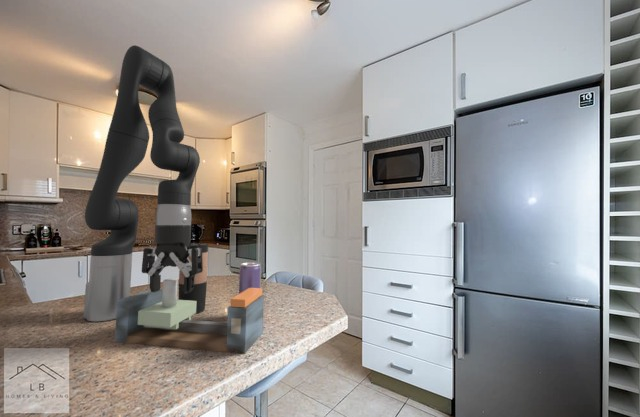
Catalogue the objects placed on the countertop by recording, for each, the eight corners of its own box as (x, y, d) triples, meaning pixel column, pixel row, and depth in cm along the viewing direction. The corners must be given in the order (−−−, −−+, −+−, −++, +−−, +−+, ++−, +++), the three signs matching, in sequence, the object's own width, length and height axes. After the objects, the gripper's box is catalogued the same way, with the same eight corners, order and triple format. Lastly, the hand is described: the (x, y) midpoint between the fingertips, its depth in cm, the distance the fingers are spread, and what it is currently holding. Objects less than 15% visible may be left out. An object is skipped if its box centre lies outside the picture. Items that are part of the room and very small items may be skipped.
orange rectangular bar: (230, 306, 53) (230, 298, 54) (249, 294, 63) (249, 287, 63) (244, 307, 53) (245, 299, 53) (261, 294, 62) (262, 288, 63)
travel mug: (176, 317, 72) (180, 245, 73) (177, 308, 78) (180, 243, 80) (206, 313, 75) (209, 244, 76) (205, 305, 82) (207, 242, 83)
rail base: (113, 342, 56) (115, 300, 57) (150, 324, 66) (152, 288, 67) (244, 354, 52) (245, 309, 52) (262, 332, 62) (263, 295, 63)
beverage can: (254, 322, 68) (255, 266, 69) (233, 320, 70) (235, 265, 71) (263, 314, 74) (264, 262, 75) (244, 313, 76) (246, 261, 76)
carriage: (137, 330, 56) (139, 283, 57) (167, 315, 65) (169, 275, 66) (169, 333, 55) (172, 285, 56) (195, 317, 64) (197, 276, 65)
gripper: (209, 223, 65) (208, 288, 64) (159, 223, 67) (156, 287, 66) (191, 223, 57) (188, 297, 56) (134, 223, 59) (131, 295, 58)
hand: (171, 291), depth 61 cm, fingers open, 8 cm apart
